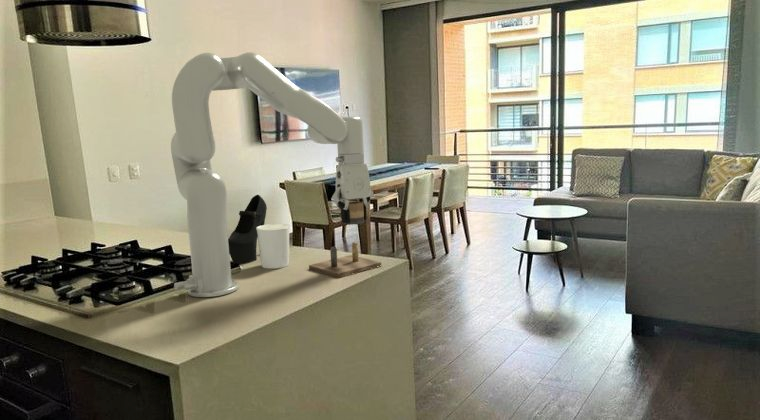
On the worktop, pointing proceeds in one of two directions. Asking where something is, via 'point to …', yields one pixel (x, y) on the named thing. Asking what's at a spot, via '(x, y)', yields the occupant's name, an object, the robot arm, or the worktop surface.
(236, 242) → the high-heeled shoe
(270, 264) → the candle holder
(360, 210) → the sleeve
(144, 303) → the worktop surface
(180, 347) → the worktop surface
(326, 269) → the pin board
